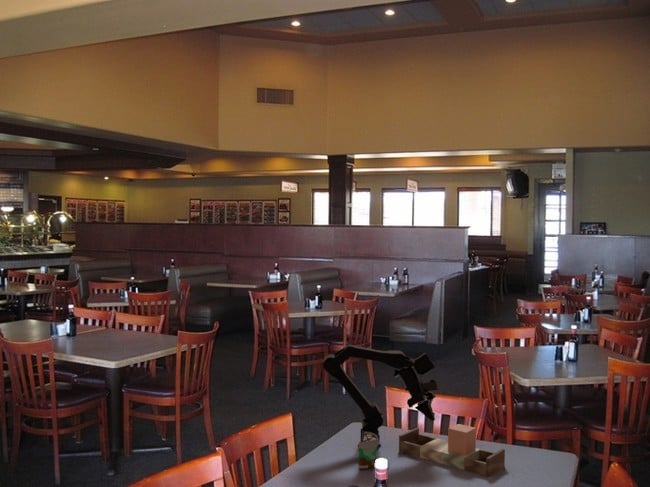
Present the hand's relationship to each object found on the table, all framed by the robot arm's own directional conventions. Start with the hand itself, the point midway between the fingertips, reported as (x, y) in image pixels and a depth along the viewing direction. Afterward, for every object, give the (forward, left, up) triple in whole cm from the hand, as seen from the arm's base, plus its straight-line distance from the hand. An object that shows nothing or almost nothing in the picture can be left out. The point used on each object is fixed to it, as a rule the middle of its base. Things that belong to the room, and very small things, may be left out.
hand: (433, 420), depth 233 cm
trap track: (+7, -1, -12) cm, 14 cm away
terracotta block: (+12, 0, -8) cm, 14 cm away
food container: (-10, -25, -13) cm, 30 cm away
